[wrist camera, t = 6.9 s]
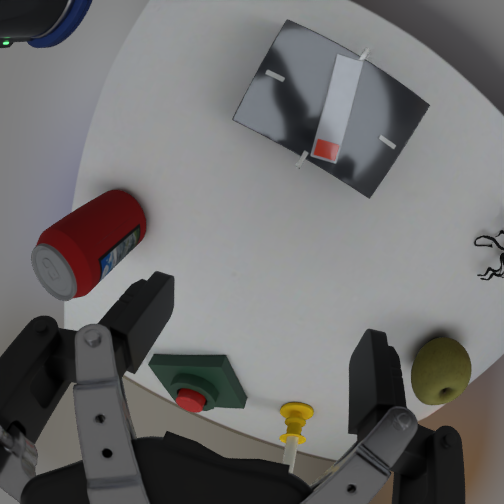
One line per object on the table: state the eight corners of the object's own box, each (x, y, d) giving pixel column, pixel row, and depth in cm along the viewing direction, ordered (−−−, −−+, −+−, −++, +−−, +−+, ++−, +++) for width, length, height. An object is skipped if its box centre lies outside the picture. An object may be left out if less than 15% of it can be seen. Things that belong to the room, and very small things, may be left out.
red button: (186, 402, 40) (182, 411, 39) (175, 386, 39) (170, 395, 37) (210, 404, 39) (206, 413, 38) (199, 388, 37) (195, 398, 36)
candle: (274, 411, 43) (254, 498, 29) (292, 398, 40) (274, 493, 27) (301, 421, 43) (286, 505, 30) (320, 409, 40) (309, 501, 27)
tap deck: (237, 125, 24) (226, 129, 21) (295, 20, 18) (292, 9, 16) (359, 195, 25) (363, 208, 22) (422, 96, 19) (436, 97, 16)
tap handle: (332, 62, 17) (336, 52, 13) (354, 69, 17) (364, 61, 13) (311, 145, 21) (310, 157, 16) (332, 151, 20) (336, 165, 16)
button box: (181, 393, 46) (172, 411, 42) (153, 354, 42) (142, 373, 38) (247, 397, 42) (241, 418, 39) (225, 354, 38) (217, 377, 34)
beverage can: (118, 249, 33) (55, 311, 23) (92, 199, 30) (17, 249, 20) (160, 234, 31) (94, 303, 20) (132, 177, 28) (49, 226, 18)
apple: (398, 368, 33) (404, 413, 27) (421, 323, 29) (434, 371, 23) (445, 369, 32) (455, 411, 26) (470, 326, 28) (488, 370, 22)
